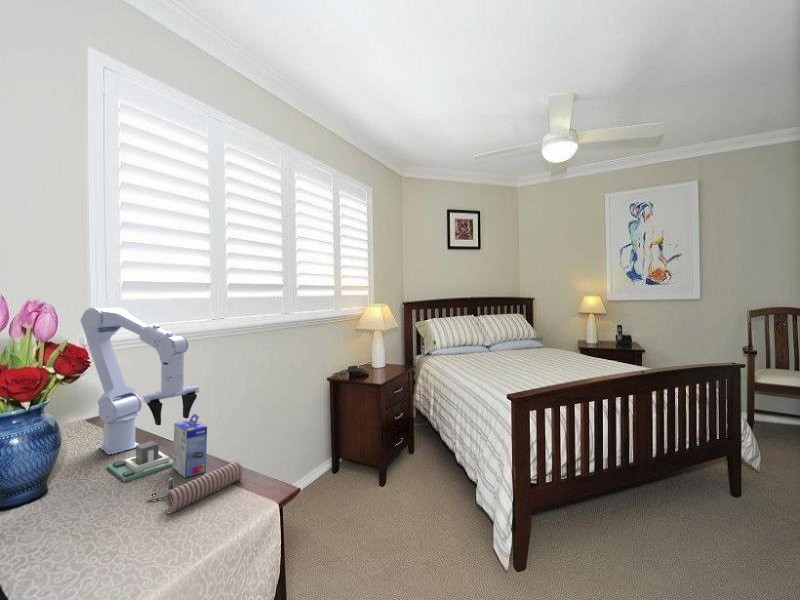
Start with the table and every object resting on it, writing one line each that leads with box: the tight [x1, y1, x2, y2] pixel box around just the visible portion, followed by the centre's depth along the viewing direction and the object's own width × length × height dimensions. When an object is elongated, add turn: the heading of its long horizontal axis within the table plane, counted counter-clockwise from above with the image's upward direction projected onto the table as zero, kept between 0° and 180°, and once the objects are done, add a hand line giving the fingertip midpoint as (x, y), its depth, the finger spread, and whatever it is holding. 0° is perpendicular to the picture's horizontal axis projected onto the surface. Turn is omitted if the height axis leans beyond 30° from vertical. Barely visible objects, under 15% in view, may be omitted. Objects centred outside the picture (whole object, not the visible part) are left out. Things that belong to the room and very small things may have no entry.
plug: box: [135, 440, 159, 465], centre depth 99 cm, size 5×4×5 cm
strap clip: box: [147, 476, 174, 502], centre depth 84 cm, size 8×3×4 cm, turn 111°
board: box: [106, 450, 173, 483], centre depth 99 cm, size 13×12×2 cm
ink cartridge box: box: [172, 413, 208, 478], centre depth 98 cm, size 10×6×14 cm, turn 49°
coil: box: [165, 460, 243, 514], centre depth 86 cm, size 5×5×18 cm
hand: (172, 421), depth 108 cm, fingers open, 7 cm apart
